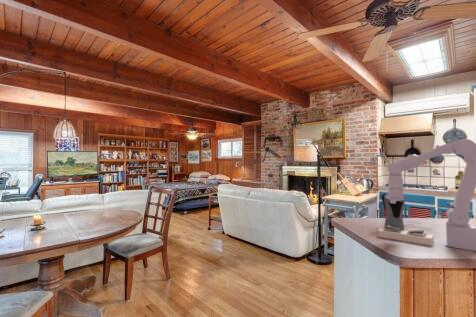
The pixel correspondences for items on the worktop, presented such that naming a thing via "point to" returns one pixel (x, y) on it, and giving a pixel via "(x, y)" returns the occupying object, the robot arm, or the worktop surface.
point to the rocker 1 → (392, 228)
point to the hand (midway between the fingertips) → (396, 217)
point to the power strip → (406, 236)
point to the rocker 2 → (416, 231)
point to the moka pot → (389, 215)
